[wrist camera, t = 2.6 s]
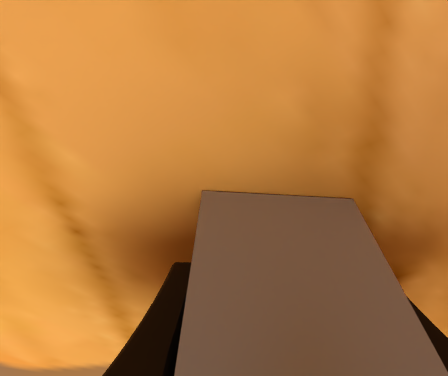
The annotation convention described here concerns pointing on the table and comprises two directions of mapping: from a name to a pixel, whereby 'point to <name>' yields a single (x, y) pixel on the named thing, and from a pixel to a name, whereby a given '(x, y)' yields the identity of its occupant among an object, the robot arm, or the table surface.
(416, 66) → the table surface
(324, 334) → the slate block
